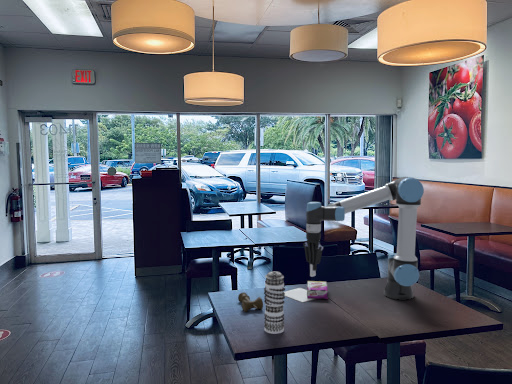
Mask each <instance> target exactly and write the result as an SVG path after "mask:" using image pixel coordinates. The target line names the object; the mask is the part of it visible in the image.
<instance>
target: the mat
mask: <svg viewBox="0 0 512 384" xmlns="http://www.w3.org/2000/svg"><path fill="white" fill-rule="evenodd" d="M283 292H284V293H285V295H283V296H284V297H285V298H286V297H287V298H289V299H292V300H295V301H297V302H300V303H306V302H309V301H313V300H314V299H313V298H307V289H304V288H302V287H297V288H294V289H290V290H285V291H283Z"/></svg>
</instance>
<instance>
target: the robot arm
mask: <svg viewBox="0 0 512 384" xmlns="http://www.w3.org/2000/svg"><path fill="white" fill-rule="evenodd" d="M424 190H425V189H424V186H423V184H422V183H421V181H420V180H419V179H417V178H415V177H409V176H402V177H399V178H397V179H394V180H392V181H389V182H387V183H385V185H384V186H382V187H378V188H375V189H372V190H370V191H366V192H364V193H360V194H358V195H354V196H352V197H351V196H350V197H348V198H345V199H342V200H339V201H336V202H331V203H328V204H327V205H326V206H324V205H322V202H320V201H310V202H307V203H306V210H305V211H306V220H305V221H306V223H305V225H306V228H305V229H306V233H305V238H306V241H305V242H304V243H302V245H303V248H304V254H305V259H306V262H307V263H309V265H308V267H309V268H308V269H309V277H312V278H313V277H315V276H316V275H317V273H316V271H317V270H318V269H317V268H318V266H317V265H318V264H320V263H321V261H322V254H323V250H324V249H325V246H322V245H321V237H322V233H321V231H322V221H323V222H326V221H327V222H328V221H329V222H344V221H345V218H346V214H349V213H352V212H356V211H357V210H361V209H364V208H368V207H370V206H374V205H378V204H380V203H383V202H386V201H389V200H390V201H396V202H395V204H396V205H397V206H398V224H397V239H396V241H397V242H396V243H397V244H396V245H397V246H396V253H395V252H393V253H389V255H388V258H387V282H386V284H385V287H384V289H383V295H384V297H386V296H387V298H389V299H393V300H397V299H399V300H398V301H407V300H406V299H409V300H412V299H413V298H414V291H413V287H412V286H413V285H415V284H416V283H417V282H418V281H419V278H420V272H419V269H418V265H419V264H418V263H419V260H418V257H417V256H416V237H417V235H416V234H417V221H418V219H417V218H418V208H419V207H420V206H422V198H423V196H424ZM411 298H412V299H411Z"/></svg>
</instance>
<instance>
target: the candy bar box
mask: <svg viewBox="0 0 512 384" xmlns="http://www.w3.org/2000/svg"><path fill="white" fill-rule="evenodd" d="M306 290H307V298H313V300H316V299H318V300H319V299H320V300H321V299H322V300H328V299H329V288H328V282H327V281H321V280H319V281H315V280H306Z"/></svg>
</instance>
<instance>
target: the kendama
mask: <svg viewBox="0 0 512 384" xmlns="http://www.w3.org/2000/svg"><path fill="white" fill-rule="evenodd" d="M237 299H238V301H239V302H240V303H241V309H242V311H243V312H245V313H246V312H248V311H249V310H251V309H255V310H263V308H264V301H263V298H262V297H260V296H259V297H257V298H256V299H254V300H251V297H250V296H249V295H248V294H247V292H240V293H238V296H237Z"/></svg>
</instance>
